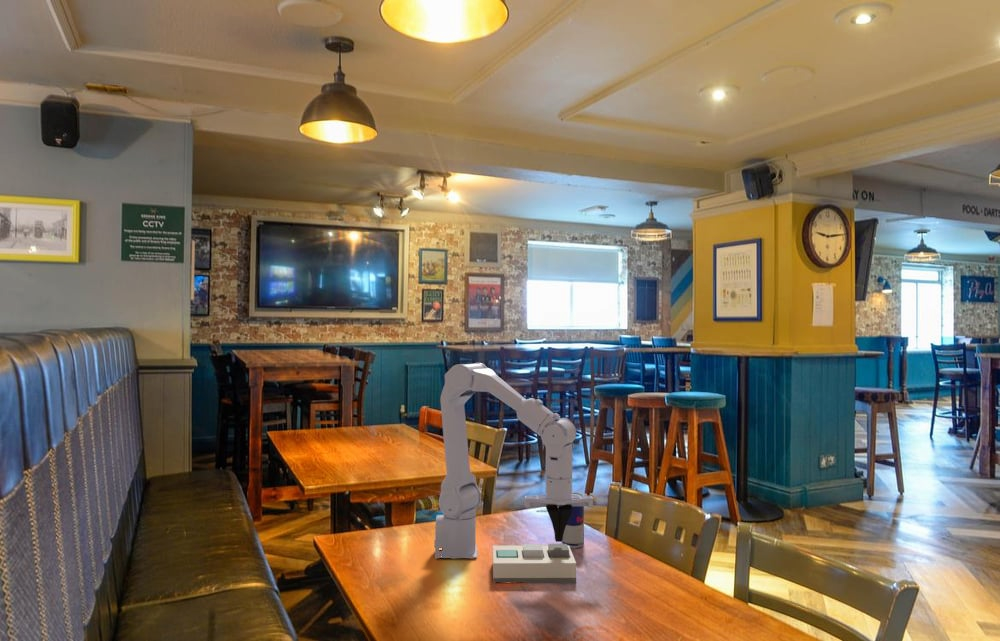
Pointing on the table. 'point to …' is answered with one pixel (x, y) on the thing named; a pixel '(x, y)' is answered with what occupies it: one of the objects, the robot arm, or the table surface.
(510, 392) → the robot arm
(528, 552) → the grey key
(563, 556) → the charcoal key
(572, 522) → the energy drink
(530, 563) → the keypad
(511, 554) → the teal key
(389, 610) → the table surface
